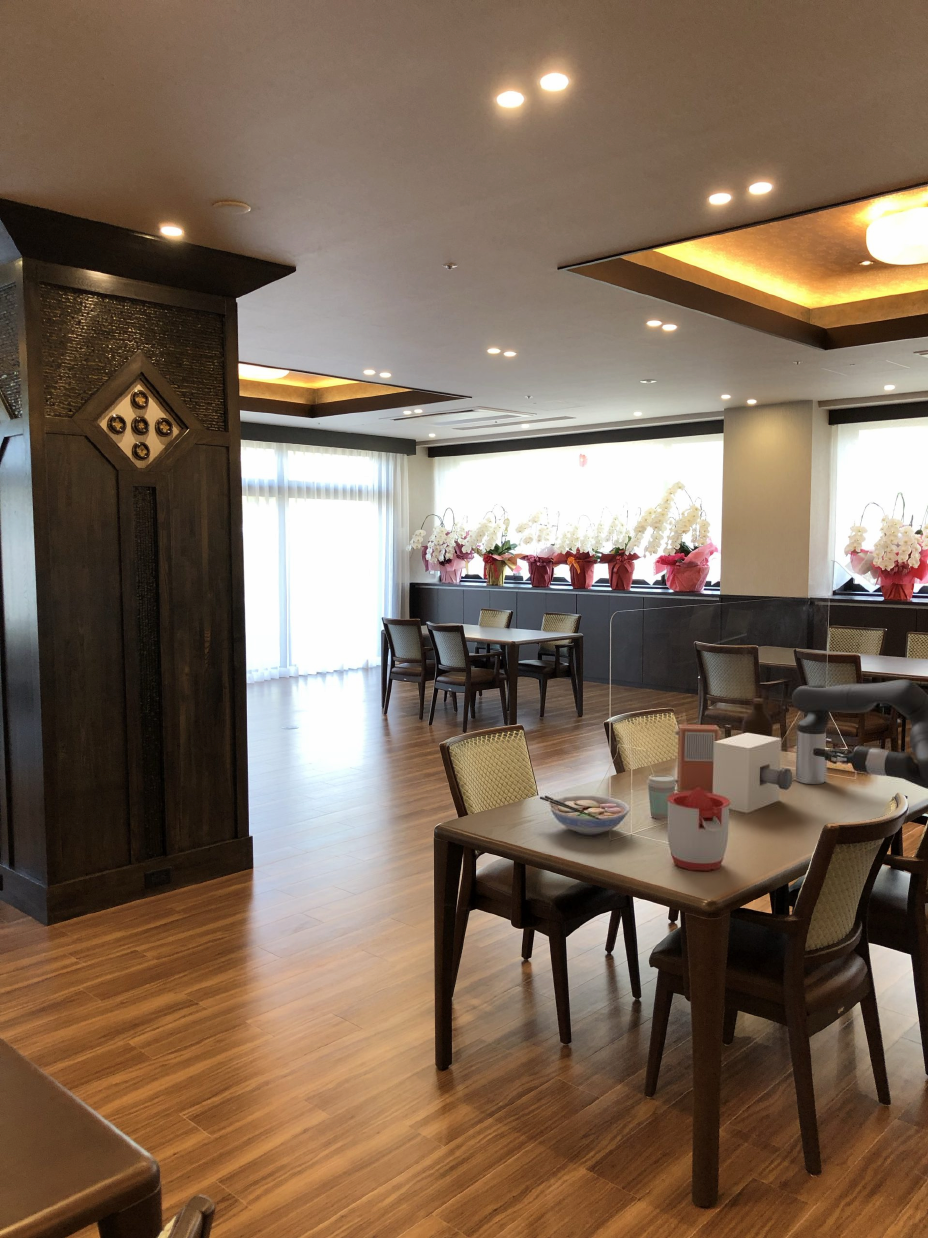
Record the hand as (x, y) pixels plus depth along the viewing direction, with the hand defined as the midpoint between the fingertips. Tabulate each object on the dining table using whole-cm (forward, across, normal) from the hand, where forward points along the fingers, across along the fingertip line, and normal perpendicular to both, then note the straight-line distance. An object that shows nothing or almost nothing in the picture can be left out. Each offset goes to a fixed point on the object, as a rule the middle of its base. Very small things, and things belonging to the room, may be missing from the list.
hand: (814, 751), depth 279 cm
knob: (+13, 0, +13) cm, 18 cm away
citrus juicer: (+1, +61, +21) cm, 64 cm away
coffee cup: (+32, +32, +20) cm, 50 cm away
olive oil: (+43, -45, +20) cm, 65 cm away
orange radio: (+40, -2, +20) cm, 45 cm away
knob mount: (+22, 0, +20) cm, 30 cm away
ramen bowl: (+38, +59, +20) cm, 73 cm away
